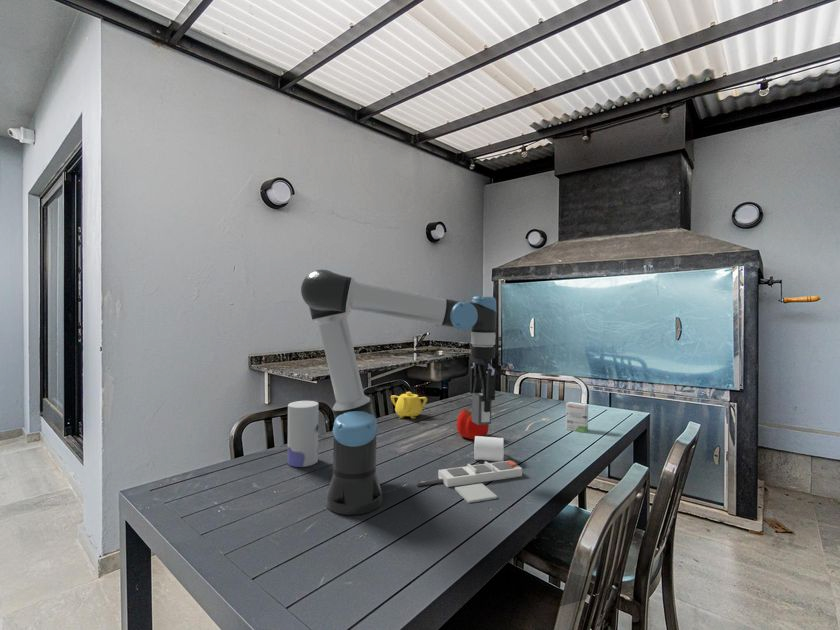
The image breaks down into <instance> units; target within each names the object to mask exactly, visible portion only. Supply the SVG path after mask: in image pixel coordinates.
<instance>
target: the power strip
mask: <svg viewBox="0 0 840 630" xmlns="http://www.w3.org/2000/svg"><path fill="white" fill-rule="evenodd" d="M517 464H518V463H516V462H515V461H513V460H503V462H497V461H495V462H489V461H486V460H484V463H482V464H480V463H479V464H474V465H471V464H470V463H467V464H466V466H459V467H449V468H443V469H438V471H437V472H438V474H437V476H438V479H432V480H424V481H423V480H422V481H418V482H416V486H417V487H420V486H425V485H426V486H427V485H434V484H440V483H443V484H444V486H446V488H450V487H460V486H467V485H473V484H480V483H485V482H492V481H497V480H505V479H512V478H518V477H523V468H522V467H521V466H520V465H517Z"/></svg>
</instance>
